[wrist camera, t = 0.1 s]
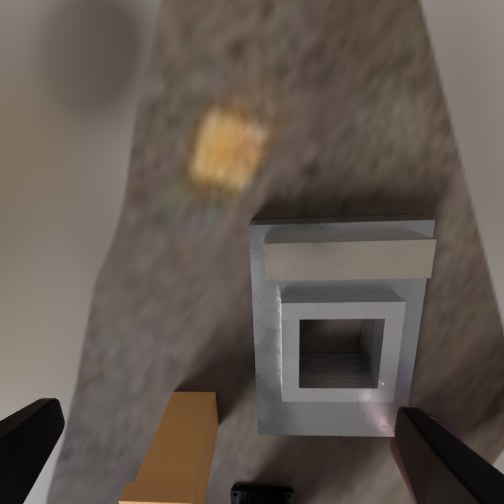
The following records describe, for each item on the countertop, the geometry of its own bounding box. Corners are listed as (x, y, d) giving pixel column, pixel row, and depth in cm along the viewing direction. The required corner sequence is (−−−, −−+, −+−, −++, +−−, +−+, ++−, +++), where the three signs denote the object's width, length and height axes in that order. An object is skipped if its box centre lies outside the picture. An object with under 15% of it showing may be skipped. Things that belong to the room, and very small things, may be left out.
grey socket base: (390, 411, 24) (416, 461, 20) (258, 409, 25) (257, 458, 21) (414, 214, 20) (456, 225, 15) (251, 219, 20) (247, 231, 16)
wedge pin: (221, 428, 26) (199, 553, 17) (175, 427, 26) (130, 550, 18) (218, 389, 25) (192, 503, 16) (169, 389, 25) (118, 501, 16)
